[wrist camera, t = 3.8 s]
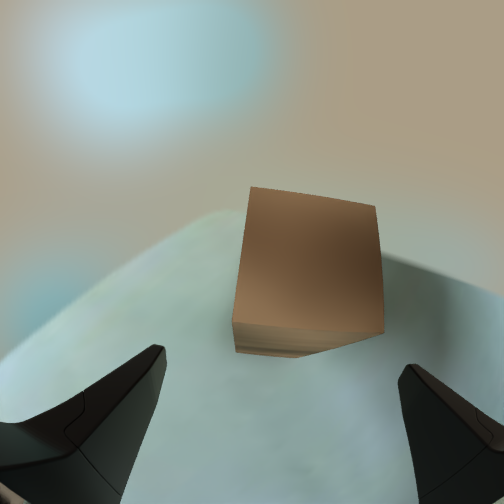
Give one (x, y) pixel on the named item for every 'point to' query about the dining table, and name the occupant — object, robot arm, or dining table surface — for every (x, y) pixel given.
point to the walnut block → (307, 275)
